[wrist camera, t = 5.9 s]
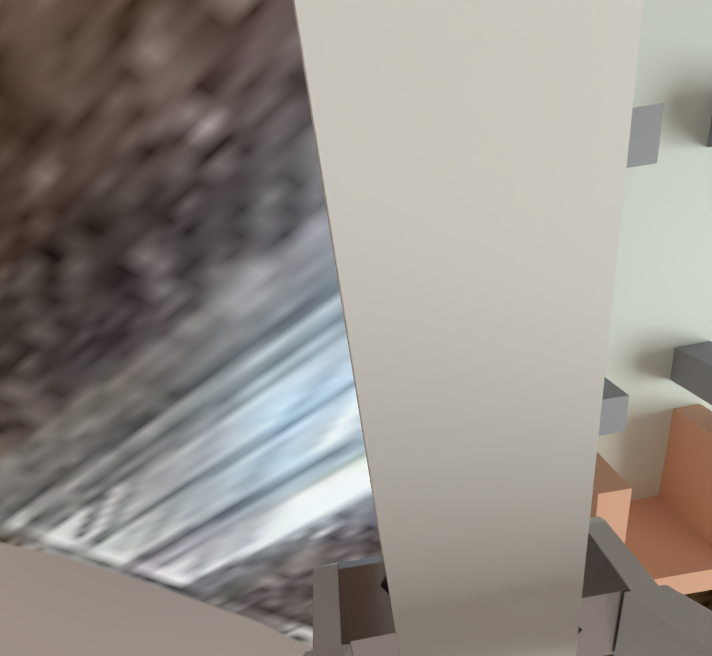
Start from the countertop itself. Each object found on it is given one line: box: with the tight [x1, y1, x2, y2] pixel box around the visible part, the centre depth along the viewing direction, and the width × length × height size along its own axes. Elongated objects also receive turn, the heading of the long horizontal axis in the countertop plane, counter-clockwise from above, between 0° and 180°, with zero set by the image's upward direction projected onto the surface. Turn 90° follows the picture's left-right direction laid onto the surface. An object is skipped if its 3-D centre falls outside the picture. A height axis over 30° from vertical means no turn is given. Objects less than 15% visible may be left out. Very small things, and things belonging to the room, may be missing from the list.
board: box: [590, 0, 712, 594], centre depth 20 cm, size 30×12×6 cm, turn 8°
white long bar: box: [293, 0, 644, 656], centre depth 9 cm, size 25×4×4 cm, turn 8°
